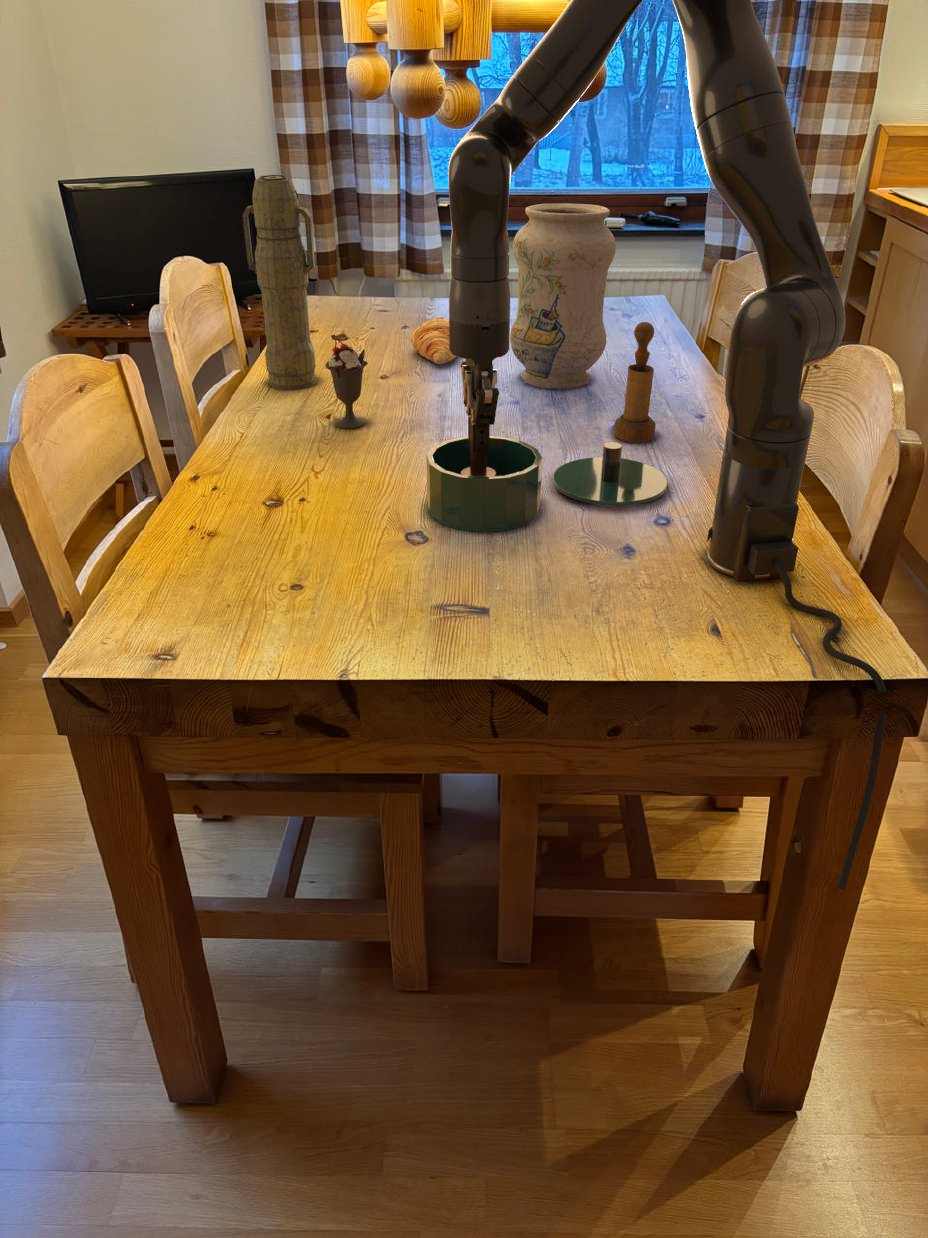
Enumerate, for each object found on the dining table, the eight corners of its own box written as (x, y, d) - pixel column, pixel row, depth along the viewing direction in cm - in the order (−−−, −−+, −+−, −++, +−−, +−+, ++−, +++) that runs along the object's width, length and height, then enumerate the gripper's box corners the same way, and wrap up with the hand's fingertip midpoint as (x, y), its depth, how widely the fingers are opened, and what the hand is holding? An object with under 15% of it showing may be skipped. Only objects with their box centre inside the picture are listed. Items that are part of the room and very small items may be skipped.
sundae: (321, 426, 159) (314, 335, 151) (344, 414, 164) (338, 325, 156) (355, 433, 157) (349, 340, 149) (377, 420, 162) (373, 330, 154)
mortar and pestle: (653, 444, 153) (666, 329, 143) (612, 441, 154) (622, 327, 144) (655, 429, 158) (667, 318, 149) (615, 427, 159) (624, 316, 150)
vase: (545, 358, 192) (553, 195, 176) (623, 376, 182) (638, 205, 167) (489, 380, 180) (492, 207, 164) (569, 400, 170) (580, 219, 155)
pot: (550, 527, 127) (553, 474, 123) (436, 536, 125) (435, 482, 121) (525, 481, 140) (527, 432, 136) (421, 488, 138) (420, 439, 134)
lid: (682, 505, 133) (688, 463, 130) (568, 513, 131) (571, 471, 128) (645, 461, 147) (649, 422, 143) (541, 467, 144) (543, 428, 141)
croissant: (456, 385, 188) (475, 348, 185) (410, 363, 185) (429, 325, 182) (445, 351, 206) (463, 318, 203) (403, 331, 203) (420, 296, 199)
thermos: (323, 389, 176) (306, 179, 157) (257, 389, 175) (233, 180, 157) (326, 374, 183) (311, 172, 165) (264, 374, 183) (242, 173, 165)
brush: (500, 507, 130) (502, 405, 122) (462, 510, 129) (462, 407, 122) (493, 492, 134) (494, 392, 127) (456, 494, 133) (455, 394, 126)
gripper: (440, 302, 124) (442, 430, 133) (458, 330, 112) (459, 469, 121) (498, 299, 125) (496, 427, 134) (521, 327, 113) (517, 465, 122)
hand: (478, 446), depth 128 cm, fingers closed on brush
